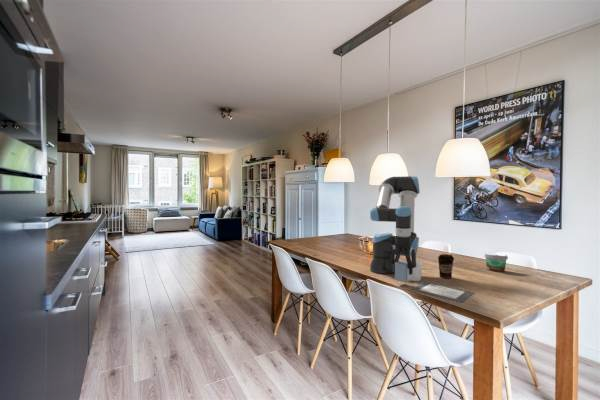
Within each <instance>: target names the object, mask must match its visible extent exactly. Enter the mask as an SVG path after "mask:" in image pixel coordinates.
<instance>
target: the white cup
mask: <svg viewBox="0 0 600 400" xmlns="http://www.w3.org/2000/svg"><path fill="white" fill-rule="evenodd" d="M411 262H412V259H411ZM422 270H423V261H421V260H416V267H415V268H413V271H412V274H411V280H410V281H413V282H420V281H421V280H422V274H423V273H422V272H423V271H422Z"/></svg>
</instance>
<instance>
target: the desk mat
mask: <svg viewBox="0 0 600 400" xmlns="http://www.w3.org/2000/svg"><path fill="white" fill-rule="evenodd" d="M429 284H433V285H437V286H442V287H446V288H451V289H455V290H459V291H464V293H463V294H461V295H460V296H459V297H457V298H456V299H454V298H450V297H446V296H442V295H438V294H434V293H430V292H426V291H422V290H420V289H421V288H423V287H425V286H427V285H429ZM410 291H415V292H417V293H422V294H427V295H430V296H434V297H438V298H441V299H442V298H443V299H445V300H449V301H450V300H451V301H454V302H458V303H461V304H462V303H464V302H465V301H467V299H468V298H470V297H472V296H473V295H474V294H475V292H474V291H470V290H466V289H460V288H456V287H452V286H447V285H442V284H438V283H434V282H430V281H429V282H428V281H423V282H422V283H420V284H418V285H416V286H414V287H412V288H410Z"/></svg>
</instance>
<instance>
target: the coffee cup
mask: <svg viewBox="0 0 600 400" xmlns="http://www.w3.org/2000/svg"><path fill="white" fill-rule="evenodd" d="M453 256H454V255H452V254H449V253H448V254H443V253H440V254H439V255H438V256H437V259H438V270H439V278H441V279H447V280H449V279H450V280H451V279H453V277H452V276H453V274H452V273H453V268H454V261H455V257H453Z"/></svg>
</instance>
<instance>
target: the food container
mask: <svg viewBox="0 0 600 400" xmlns="http://www.w3.org/2000/svg"><path fill="white" fill-rule="evenodd" d="M483 256H484V258H485V262H486V264H485V265H486V270H488V271H490V272H493V273H494V272H495V273H504V272H505V271H506V267H507V266H506V264H507V263H506V262H507V260H508V259H509V257H508V255H499V254H488V253H484V255H483Z"/></svg>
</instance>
